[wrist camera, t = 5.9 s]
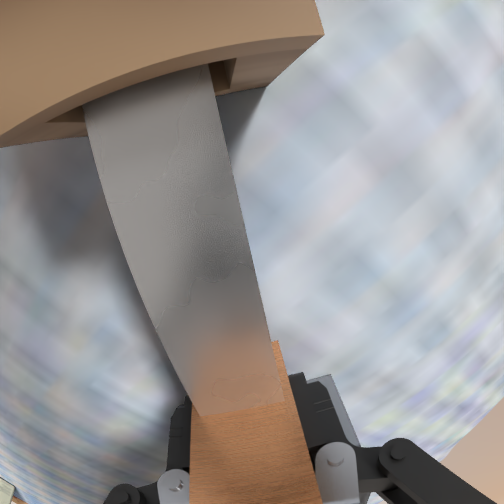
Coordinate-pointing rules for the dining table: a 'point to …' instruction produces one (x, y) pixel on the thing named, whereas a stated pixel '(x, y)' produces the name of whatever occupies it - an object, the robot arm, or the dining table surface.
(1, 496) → the skincare box
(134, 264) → the tan and grey bar
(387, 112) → the dining table surface
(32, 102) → the brown rectangular block
